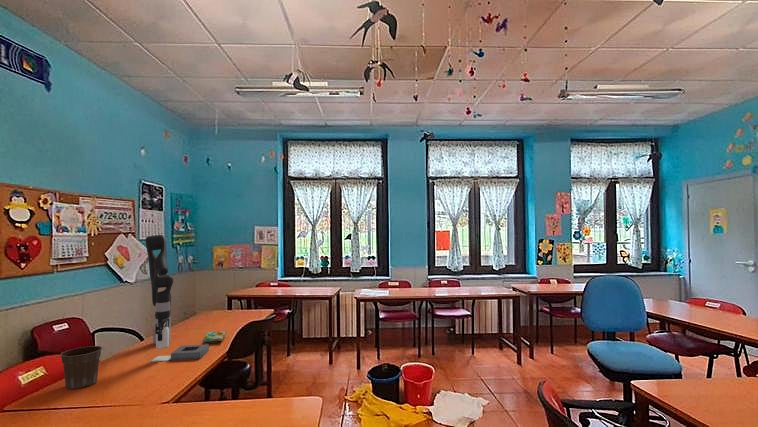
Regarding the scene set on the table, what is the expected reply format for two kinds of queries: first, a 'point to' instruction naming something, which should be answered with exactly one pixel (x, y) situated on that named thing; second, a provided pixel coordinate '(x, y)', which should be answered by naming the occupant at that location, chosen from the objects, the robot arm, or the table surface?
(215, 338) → the puzzle game
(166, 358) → the mat
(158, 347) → the can
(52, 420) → the table surface
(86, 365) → the plant pot
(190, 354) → the hollow block
